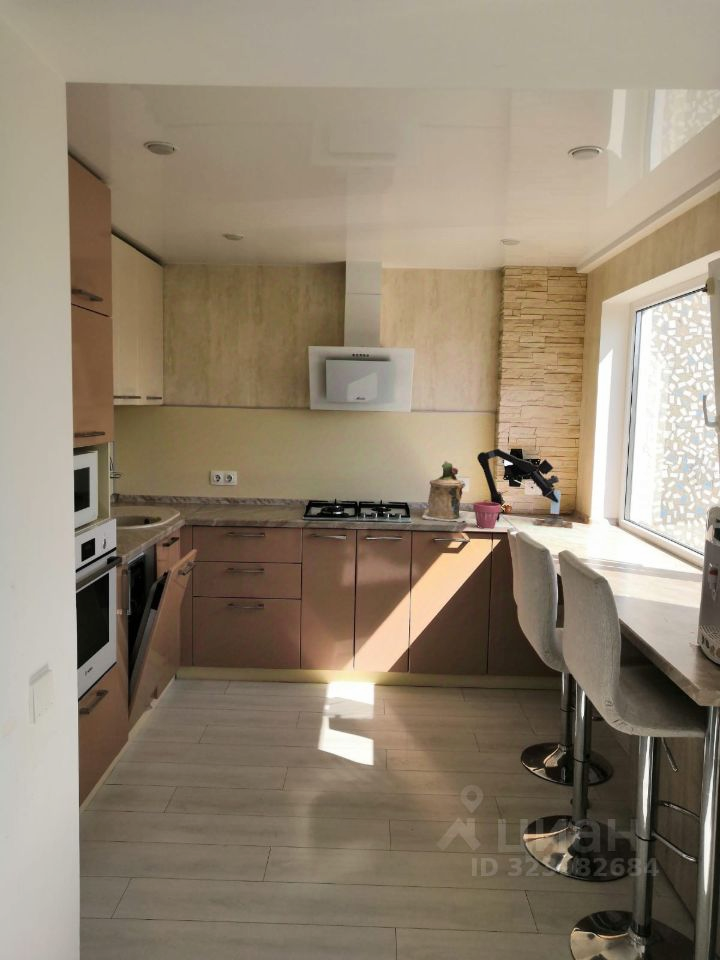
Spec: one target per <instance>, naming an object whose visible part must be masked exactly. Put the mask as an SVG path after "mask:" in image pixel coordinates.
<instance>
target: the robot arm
mask: <svg viewBox="0 0 720 960" xmlns="http://www.w3.org/2000/svg"><path fill="white" fill-rule="evenodd" d="M495 457H498V458H500V459H502V460H504V461H506V462H509V463H511V464H512V465H514V466H517V468H519V469H520V470H522V471H523V472H524V473H526V480H528V479H530V480H532V482H533V483H534V484H535V485H536V487H538V488H539V489H540V491H541V495H542V497H543V498H547V499H549V500H550V501H551V500H553V501H555V502H557V503H558V502H559V501H558V499H557V498H556V496H555V494H554V490H556V489H555V485H554V484H557V483H559V482H560V481H559V477H558V476H557V475H554V474H553V475H550V478H548V479H547V477H544V475H547V474H549V473H550V472H551V471H552V470H553V469H554V467H553V465H552V464H551V463H550V462H549V461H547V459H546V458H545V459H543V460H542V462H540V463H539V465H538V464H533V462H531V461H528V460H524V459H520V458H517V457H516V456H514V455H512V454H510V453H508V452H505V451H503V450H501V449H500V448H495V449H494V450H493V449H492V450H489V451H486V452H485V451H480V453H479V454H477V461H478V463H479V464H480V466H481V468H482V470H483V472H484V473H483V474H484V476H485V479H486V483H487V486H488V490H489V493H490V501H491V502H493V503H498V504H500V505H502V501H503V498H502V495H501V492H502V491H498V489H497V487H496V483H495V479H494V477H493V472H492V471H491V467H490V459H493V458H495ZM498 492H500V493H498ZM500 513H501V512H499V513H498V517H497V520H499V521H500V516H501V515H500Z"/></svg>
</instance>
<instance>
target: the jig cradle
mask: <svg viewBox="0 0 720 960" xmlns="http://www.w3.org/2000/svg"><path fill="white" fill-rule="evenodd" d="M534 526H538V527H539V526H542V527H553V528H562V527H564V529H565V528H566V529H573V522H572V521H571V522H570V521H564V516H557V515H548V514H547V515H545V516H544V519H537V518H536V519H535V521H534Z"/></svg>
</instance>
